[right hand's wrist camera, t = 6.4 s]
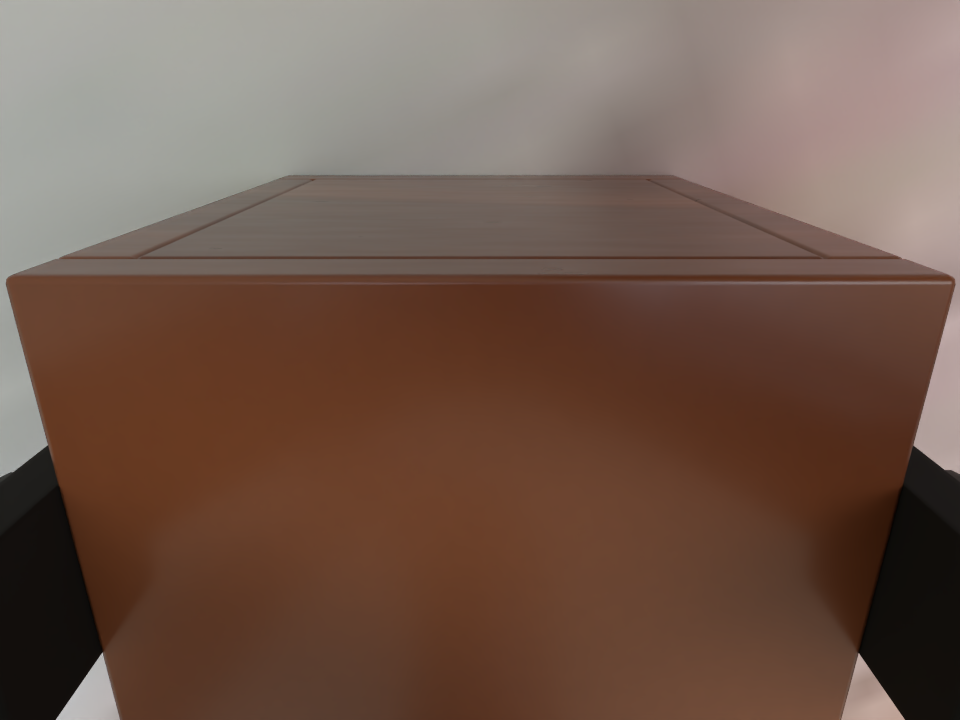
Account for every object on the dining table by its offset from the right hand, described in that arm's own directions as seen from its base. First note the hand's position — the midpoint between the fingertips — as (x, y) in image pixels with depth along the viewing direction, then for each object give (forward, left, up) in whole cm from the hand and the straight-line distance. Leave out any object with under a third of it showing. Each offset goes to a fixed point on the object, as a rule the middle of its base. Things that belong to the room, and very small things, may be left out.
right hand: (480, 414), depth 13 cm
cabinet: (+3, +5, -7) cm, 9 cm away
